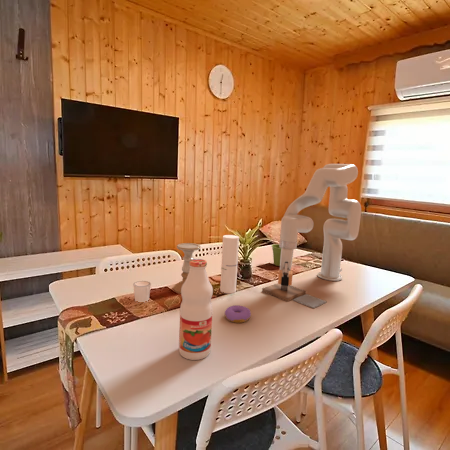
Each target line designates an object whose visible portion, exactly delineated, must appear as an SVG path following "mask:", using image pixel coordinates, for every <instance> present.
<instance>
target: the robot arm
mask: <svg viewBox="0 0 450 450" xmlns="http://www.w3.org/2000/svg"><path fill="white" fill-rule="evenodd" d="M358 170H359V169H358V167H357V166H356V165H355V164H352V163H328V164H327V163H326V164H325V165H324V166H323V167H321V168H317V169H316V170H315V172H314V173H313V175H312V177H311V179H310V180H309V183H308V185H307V187H306V190H305V191H304V192H303V194H301V195H300V196H298V197H297V198H296V199H294V200H293V201H292V202H291V203H290V204H289V205H288V207H287V208H286V210H285V213H284V214H283V217H281V222H280V224H281V225H280V235H279V244H280V245H279V247H280V248H282V249H281V258H280V266H279V269H280V270H283V274H282V279H281V285H283V286H288V284H289V271H291V269H292V266H293V257H294V250H297V248H298V247H297V245H298V237H299V236H298V234H299V233H303V234H307V233H309V232H311V231H312V230H313V228H314V225H315V224H314V220H313V219H312V218H311V217H310V216H306V215H302V214H299V212H300V211H302V210H304V209H305V208H308V207H310V206H313V205H315V206H316V205H318V204H320V203H321V202H322V200H323V198H324V196H325V194H326V191H327V190H328V188H329V199H328V213H329V215H331V216H333V217H336V218H328V219H326V221H325V222H324V223H323V246H322V247H323V249H322V257H321V264H320V265H321V267H320V271H319V272H317V275H316V276H317V277H318V278H320V279H322V280H325V281H332V282H339V281H341V280H342V281H343V276H342V275H341V274H340V272H341V273H342V272H343V268H341V265H342V263H341V262H342V254H343V242H342V240H347V241H354V240H356V239H357V238H358V236H359V231H360V226H361V225H360V224H361V217H362V206H361V203H360V202H359V201H358V200H356V199H350V198H349V199H348V193H349V192H348V191H349V190H348V189H349V188H348V186H347V185H350V184H351V183H353V182H354V181H355V180H356V179H357V178H358V174H359V171H358ZM337 217H338V218H337ZM340 218H344V219H346V220H344V219H340ZM341 239H342V240H341ZM287 272H288V273H287ZM283 276H284V277H283Z"/></svg>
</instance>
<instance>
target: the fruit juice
mask: <svg viewBox="0 0 450 450" xmlns="http://www.w3.org/2000/svg"><path fill="white" fill-rule="evenodd" d="M207 265H208V263H207V260H206V259H203V258H202V259H201V258H194V259H192V260H190V262H189V266H190V271H189V274H188V276H187V279H186V281H185V282H184V284H183V285H182V288H181V293H180V294H181V299H182V301H181V303H180V307H179V331H178V332H179V335H178V336H179V337H178V338H179V339H178V351H179V354H180V356H181V357H183V358H184V359H186V360H189V361H190V360H192V361H199V360H203V359H205V358H207V357H209V354H210V353H211V347H212V329H213V327H212V326H213V325H212V324H213V303H212V297H213V293H214V288H213V285H212V284H211V282H210V279H209V276H208V272H207V269H206V268H207Z"/></svg>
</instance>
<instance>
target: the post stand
mask: <svg viewBox="0 0 450 450" xmlns="http://www.w3.org/2000/svg"><path fill="white" fill-rule="evenodd" d="M261 290H262V293H265V294H268V295H270V296H272V297H275V298H278V299H280V300H283V301H285V302H290V301H293V299H295V298H298V297H300V296H303V295H305V294H307V290H304V289H302V288H300V287H296V286H293V285H288V286H283V285H281V284H278V282H277V283H274V284H272V285H268V286H264V287H262V288H261Z"/></svg>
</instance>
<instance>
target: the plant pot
mask: <svg viewBox="0 0 450 450" xmlns="http://www.w3.org/2000/svg"><path fill="white" fill-rule="evenodd" d="M279 245H280V243H279V244H278V243H277V244H271V248H272V257H273V265H275V266H277V267H280V258H281V249H282V248H280V247H279Z"/></svg>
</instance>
